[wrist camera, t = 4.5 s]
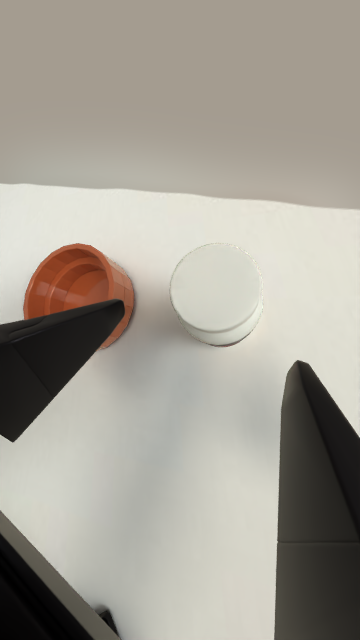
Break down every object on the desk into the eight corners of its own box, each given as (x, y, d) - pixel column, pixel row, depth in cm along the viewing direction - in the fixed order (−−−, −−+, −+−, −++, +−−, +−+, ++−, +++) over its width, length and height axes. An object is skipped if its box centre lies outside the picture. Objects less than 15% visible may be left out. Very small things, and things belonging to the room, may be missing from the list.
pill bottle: (190, 343, 19) (150, 334, 10) (198, 290, 20) (167, 234, 10) (248, 351, 17) (268, 351, 8) (254, 293, 18) (279, 230, 9)
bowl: (81, 371, 22) (46, 375, 18) (48, 301, 25) (11, 290, 21) (154, 311, 21) (134, 301, 16) (108, 246, 24) (82, 223, 20)
